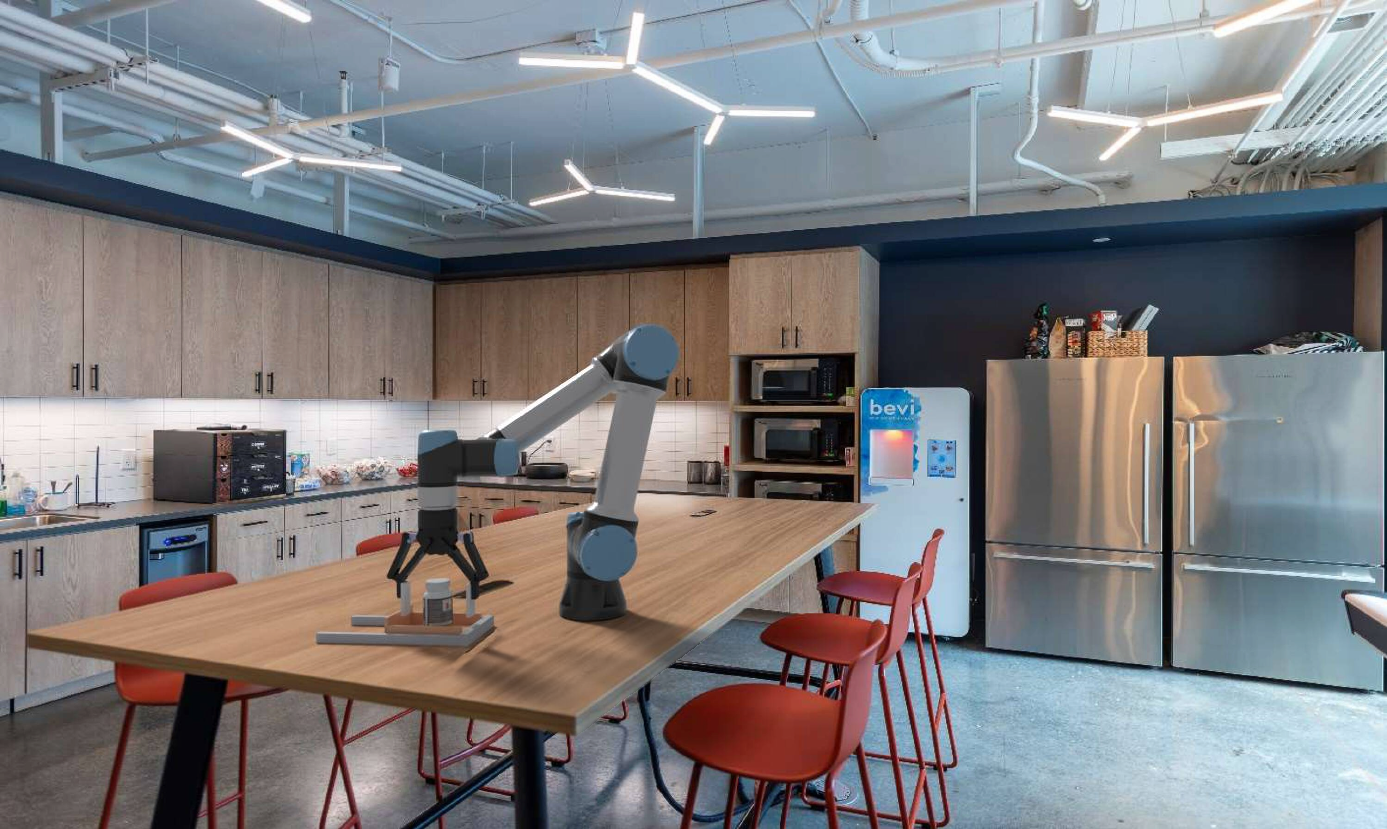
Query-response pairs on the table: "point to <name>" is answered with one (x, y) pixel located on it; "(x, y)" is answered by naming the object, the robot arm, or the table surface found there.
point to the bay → (408, 639)
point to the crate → (415, 626)
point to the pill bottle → (438, 603)
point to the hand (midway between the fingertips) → (438, 615)
